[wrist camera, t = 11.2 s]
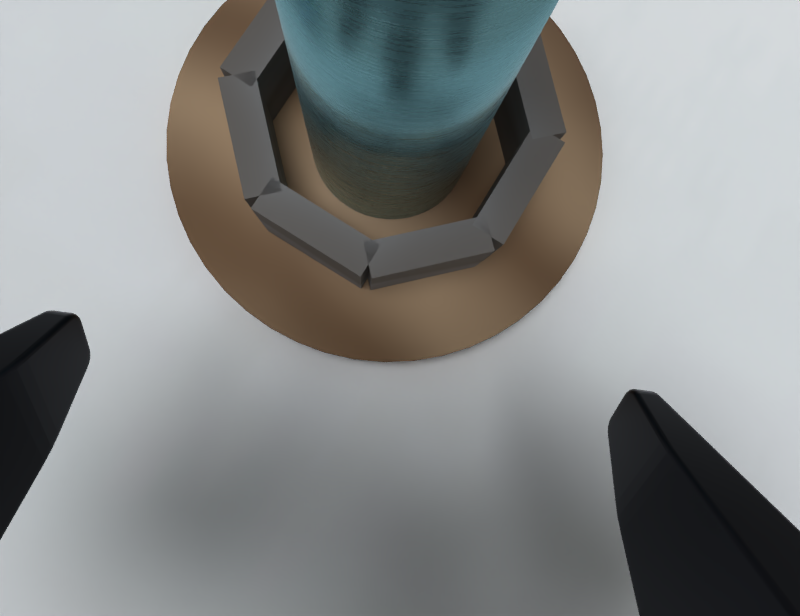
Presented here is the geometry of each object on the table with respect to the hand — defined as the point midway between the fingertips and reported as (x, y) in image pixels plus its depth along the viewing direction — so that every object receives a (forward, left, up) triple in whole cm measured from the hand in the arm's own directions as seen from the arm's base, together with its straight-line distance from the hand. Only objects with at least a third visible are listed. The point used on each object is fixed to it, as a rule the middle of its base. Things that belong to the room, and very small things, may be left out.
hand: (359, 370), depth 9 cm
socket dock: (+6, +3, -9) cm, 11 cm away
